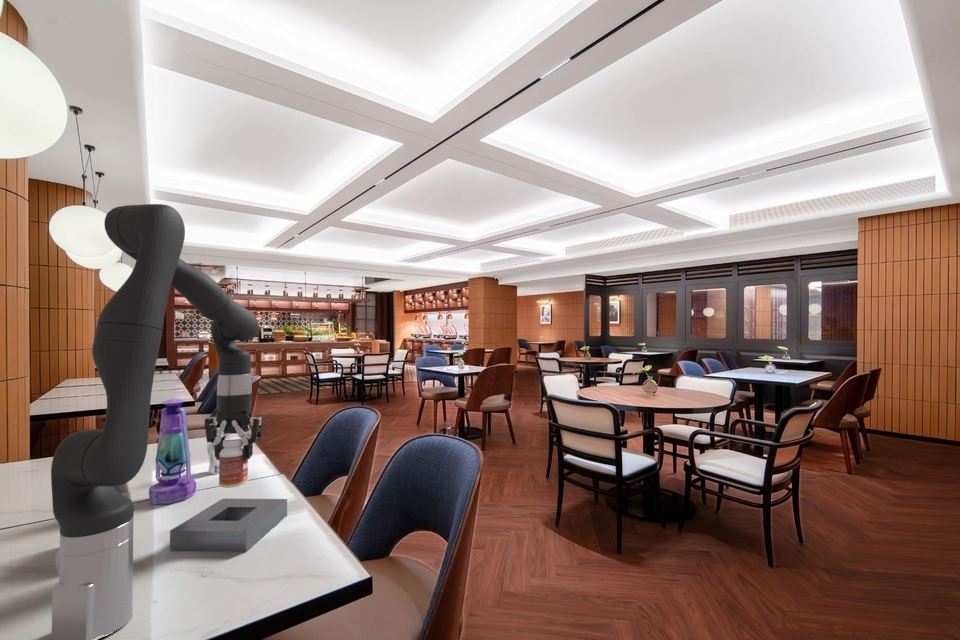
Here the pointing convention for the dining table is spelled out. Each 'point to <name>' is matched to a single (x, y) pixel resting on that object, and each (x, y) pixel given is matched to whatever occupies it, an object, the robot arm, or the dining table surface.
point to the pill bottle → (232, 464)
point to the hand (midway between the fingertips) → (233, 459)
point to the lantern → (172, 457)
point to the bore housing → (228, 525)
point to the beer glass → (213, 457)
